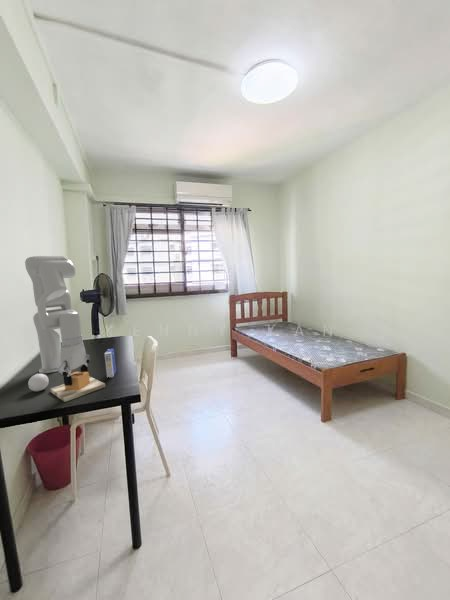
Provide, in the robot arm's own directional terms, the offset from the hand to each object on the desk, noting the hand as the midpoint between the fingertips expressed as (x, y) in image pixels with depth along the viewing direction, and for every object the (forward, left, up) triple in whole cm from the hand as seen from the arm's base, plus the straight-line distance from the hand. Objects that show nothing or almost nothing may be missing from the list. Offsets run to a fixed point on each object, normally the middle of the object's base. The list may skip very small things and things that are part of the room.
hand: (77, 380), depth 114 cm
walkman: (-4, +17, -4) cm, 18 cm away
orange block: (0, 0, -2) cm, 3 cm away
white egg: (-13, -11, -4) cm, 18 cm away
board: (0, 0, -4) cm, 4 cm away
